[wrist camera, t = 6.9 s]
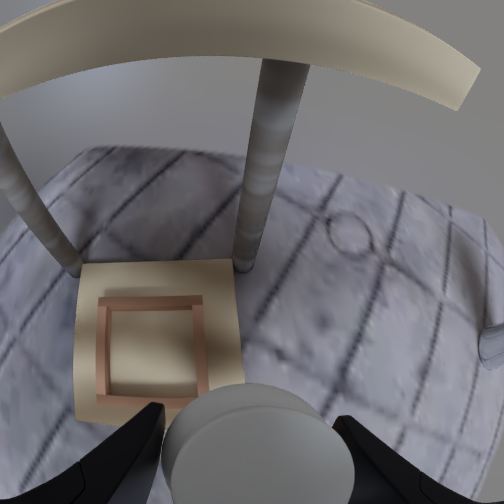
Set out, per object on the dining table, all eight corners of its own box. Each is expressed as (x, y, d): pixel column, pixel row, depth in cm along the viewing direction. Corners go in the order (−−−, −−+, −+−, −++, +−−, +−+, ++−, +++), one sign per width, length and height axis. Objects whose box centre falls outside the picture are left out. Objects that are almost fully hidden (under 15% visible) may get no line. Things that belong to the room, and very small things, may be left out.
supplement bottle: (290, 396, 14) (392, 379, 5) (277, 482, 11) (359, 561, 3) (192, 382, 14) (157, 350, 5) (177, 470, 11) (129, 553, 2)
